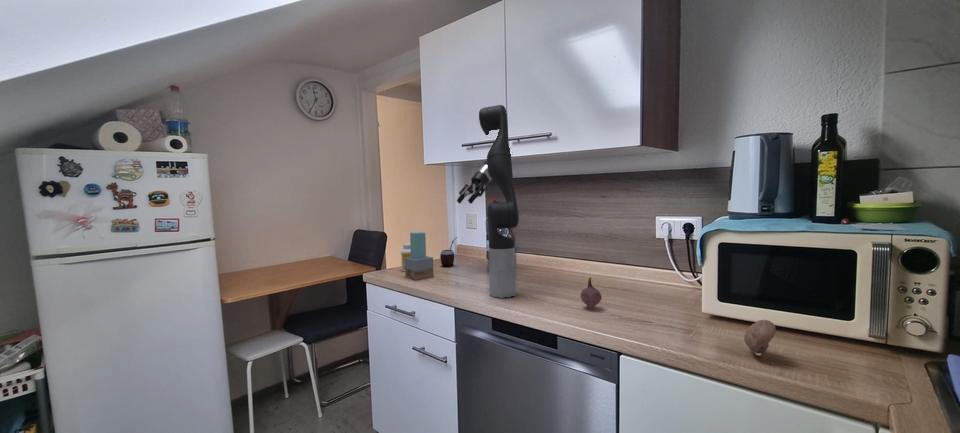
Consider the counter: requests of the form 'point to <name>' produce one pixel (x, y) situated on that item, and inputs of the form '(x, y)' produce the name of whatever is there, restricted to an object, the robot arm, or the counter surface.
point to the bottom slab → (419, 274)
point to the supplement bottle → (405, 254)
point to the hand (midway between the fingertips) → (463, 202)
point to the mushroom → (759, 335)
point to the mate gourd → (447, 257)
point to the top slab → (418, 263)
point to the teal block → (418, 245)
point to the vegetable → (590, 295)
